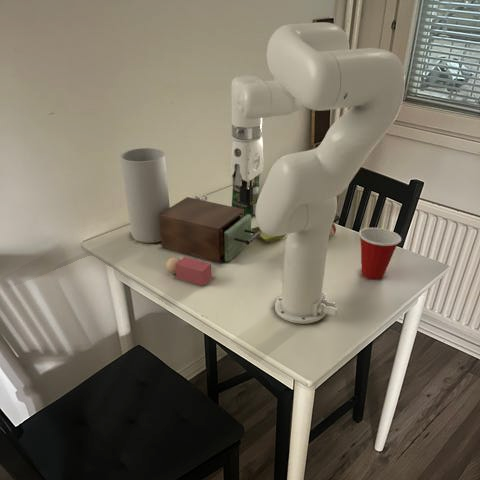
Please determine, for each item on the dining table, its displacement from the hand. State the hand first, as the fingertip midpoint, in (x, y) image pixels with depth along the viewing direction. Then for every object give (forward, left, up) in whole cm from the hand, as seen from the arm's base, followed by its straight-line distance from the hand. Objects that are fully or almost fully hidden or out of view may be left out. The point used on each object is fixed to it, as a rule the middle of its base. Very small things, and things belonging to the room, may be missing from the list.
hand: (246, 201), depth 132 cm
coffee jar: (+14, -27, -17) cm, 35 cm away
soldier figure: (+27, -20, -17) cm, 38 cm away
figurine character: (-15, -18, -17) cm, 29 cm away
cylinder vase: (+32, +2, -17) cm, 37 cm away
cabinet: (+14, 0, -17) cm, 22 cm away
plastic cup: (-36, -7, -17) cm, 40 cm away
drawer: (+9, 0, -16) cm, 18 cm away
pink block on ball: (+9, +18, -17) cm, 26 cm away
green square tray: (-1, -14, -17) cm, 22 cm away
